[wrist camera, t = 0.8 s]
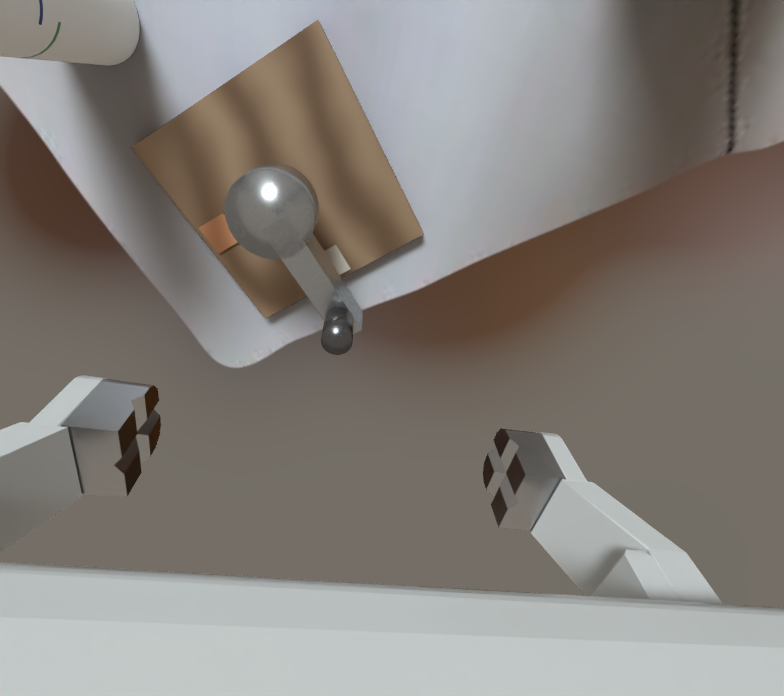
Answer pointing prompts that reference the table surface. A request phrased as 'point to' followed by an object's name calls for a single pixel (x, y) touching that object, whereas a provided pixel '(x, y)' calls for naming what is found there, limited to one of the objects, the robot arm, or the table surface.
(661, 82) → the table surface
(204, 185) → the post base
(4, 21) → the cylindrical container
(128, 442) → the robot arm
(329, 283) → the crank handle
